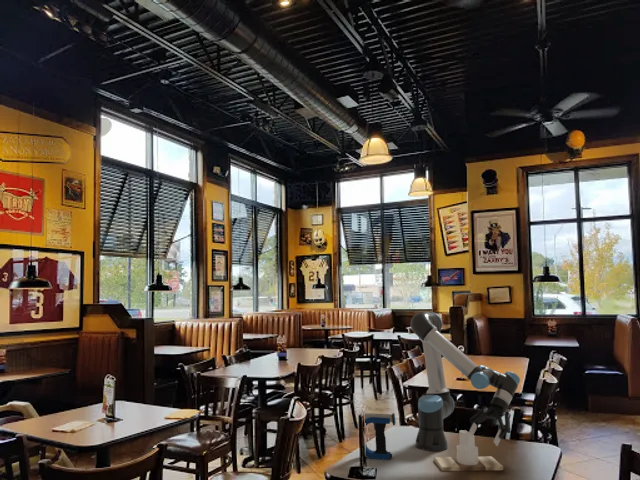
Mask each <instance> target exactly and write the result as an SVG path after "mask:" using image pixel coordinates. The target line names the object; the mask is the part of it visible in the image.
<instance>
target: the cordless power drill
mask: <svg viewBox="0 0 640 480" xmlns="http://www.w3.org/2000/svg"><path fill="white" fill-rule="evenodd" d="M364 413H365V423H366V426H367V425H369V424H373V428H374V429H373V430H374V431H375V432H374V434H375V436H374V437H375V450H371V449H370V448H369V447H368V446H367V444H366V455H365V457H367V458H369V459H372V460H383V461H384V460H385V461H390V460H391V459H392V458H393V453H391V451H388V450H387V439H386V435H385V429H386V425H387V424H388V425H390V424H391V423H392V425H393V426H395V425H396V423H397V422H396V414H395V413H394V412H392V414H389V413H388V414H387V413H375V412H374V413H373V412H364Z"/></svg>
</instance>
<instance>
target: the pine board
mask: <svg viewBox="0 0 640 480" xmlns="http://www.w3.org/2000/svg"><path fill="white" fill-rule="evenodd" d="M433 461H434V463H435V464H436V466H438V467H439V469H440V470H441V471H442V472H469V471H472V472H473V471H474V472H476V471H504V465H502V464H501V463H500V462H499V461H497V460H496V459H495V458H494V457H493V456H489V455H488V456H487V455H486V456H484V455H483V456H478V462H479V463H478V464H476V465H464V464H460V463H458V462H457V456H434V457H433Z"/></svg>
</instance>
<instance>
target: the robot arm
mask: <svg viewBox="0 0 640 480" xmlns="http://www.w3.org/2000/svg"><path fill="white" fill-rule="evenodd" d="M442 327H443V321H442V318H441V316H439V315H438V314H437V313H436V312H434V311H424V312H417V313H415V314H414V315H413V316H412V317H411V320H410V328H411V331H412V332H413V333H414V334H415V336H417V337H418V339H419V341H421V343H422V349H423V355H424V362H425V370H426V376H427V384H428V389H427V390H426V395H422V396H420V397H419V398H418V403H417V408H418V409H417V410H418V432H417V435H416V439H415V447H416V448H417V449H420V450H423V451H429V452H440V451H445V450H447V449H448V441H447V438H446V435H445V432H444V419H446V418H448V417H449V416H451V415H452V413H453V412H454V410H455V401H454V399H453V396H451V393H450V392H451V391H450V389H449V388H448V387H446V380H445V373H444V367H443V366H444V365H443V359H442V358H445V359H446V360H447V361H448V362H449V363H450V364H451V365H452V366H454V367H455V368H456V369H457V370H458V371H459V372H460V373H461V374H462V375H463V376H464V377H466V378H467V379H468V380H469V381H470V383H471V385H472V387H474V388H475V389H477V390H484V389H486V388H488V387H490V386H491V387H493V388H496V391H495V393H494V395H493V398H492V399H491V401H490V402H489V403H490V404H489V407H487V406H485V405H483V406H482V407H481V408H480V409H479V410H478V411H477V412H476V413H475V414H473V416H472V417H470V418H469V422H470V423H471V424H470V425H469V426H470V427H469V431H468V432H469V433H471V434H473V435H474V434H475V432H476V431H477V428H478V425H479V424H481V423H483V422H484V421H487V420H496V421H497V422H498V423H499V427H500V428H499V429H498V432H497V433H496V435H495V438H494V439H493V444H494V445H495V446H496V447H498V446H499V444H500V442H501V440H503V438H504V436H505V435H506V433H508V434H511V420H510V419H511V416H512V415H511V414H510V412H509V411H508V409H509V405H510V404H511V401H512V400H513V398H514V395H515V393H516V391H517V389H518V386H519V385H520V382H521V380H520V376H519V375H518V374H516V373H515V372H513V371H509V370H508V371H505V373H502V372H500V371H497V370H495V369H492V368H490V367H489V366H486V365H483V364H480V365H477V364H476V363H475V362H474V361H473V360H472V359H471V358H470V357H468V356H467V355H466V354H465V353H464V352H462V351H461V349H459V348H458V347H457V346H456V345H455V344H454V343H452V342H451V341H450V340H449V339H447V338H446V337H445V335H443V334H442V333H441V330H442ZM502 417H504V422H503V419H502ZM474 436H475V435H474Z"/></svg>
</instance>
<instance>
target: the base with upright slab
mask: <svg viewBox="0 0 640 480" xmlns="http://www.w3.org/2000/svg"><path fill="white" fill-rule="evenodd" d="M458 432H459V433H458V434H459V444H458V445H456V457H457V462H458V463H460V464H464V465H476V464H478V463H479V462H478V457H479V447H478V446H476V443H475V435H473V434H471V433H469V431H467V430H466V429H464V430H462V429H461V430H459V431H458Z"/></svg>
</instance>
